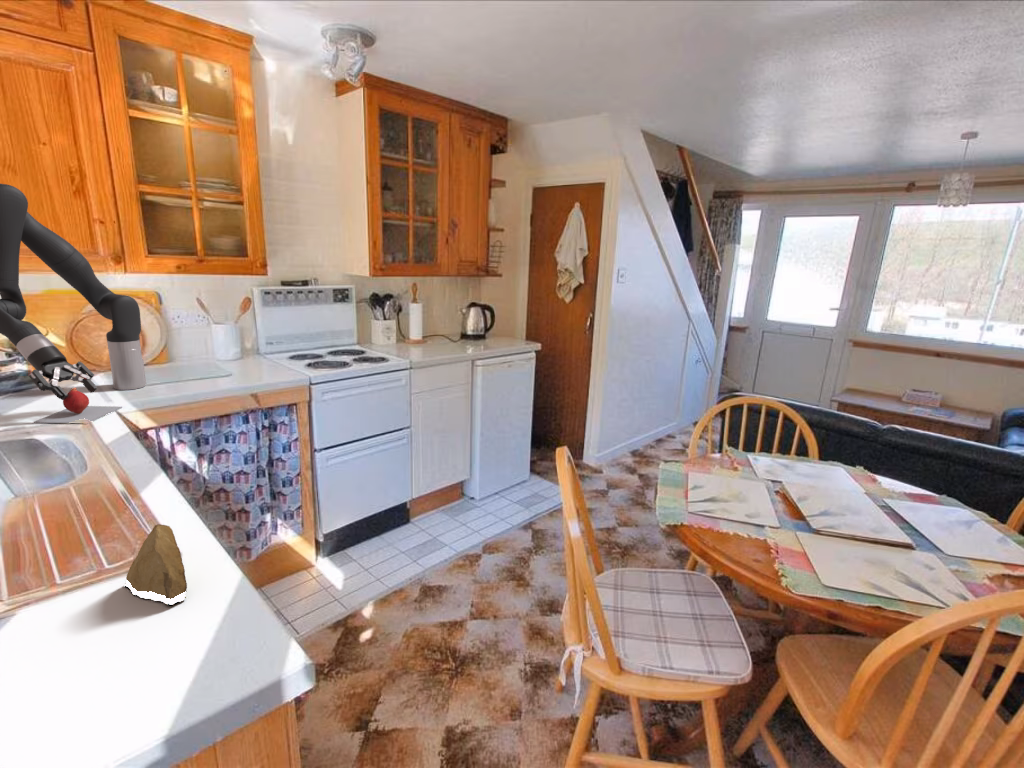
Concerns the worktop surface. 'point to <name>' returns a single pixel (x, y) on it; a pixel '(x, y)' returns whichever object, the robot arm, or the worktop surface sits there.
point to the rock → (159, 565)
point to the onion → (76, 401)
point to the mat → (88, 413)
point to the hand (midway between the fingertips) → (80, 394)
